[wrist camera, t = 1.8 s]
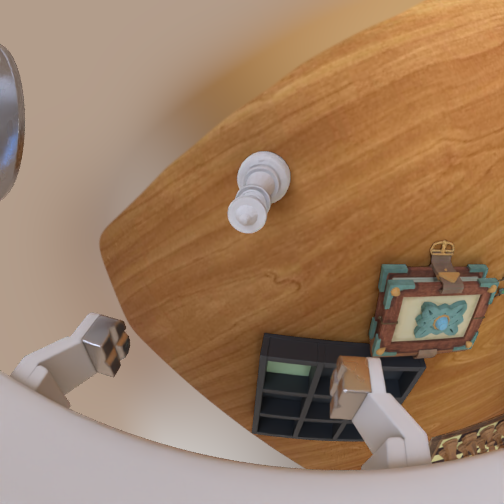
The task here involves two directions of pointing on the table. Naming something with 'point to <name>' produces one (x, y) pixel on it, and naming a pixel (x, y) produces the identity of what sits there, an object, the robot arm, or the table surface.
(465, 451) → the chessboard
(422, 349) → the decorative book
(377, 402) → the robot arm
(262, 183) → the chess piece
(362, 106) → the table surface
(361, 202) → the table surface
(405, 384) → the grid
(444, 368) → the table surface
